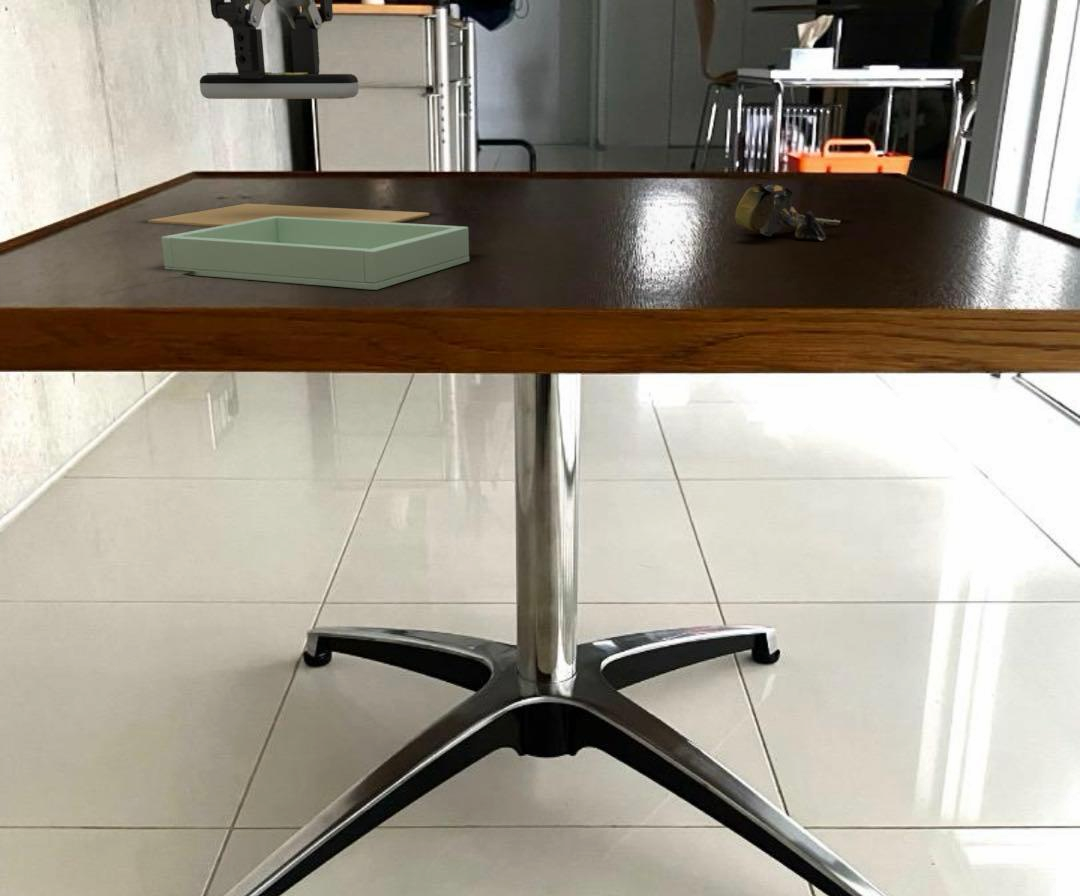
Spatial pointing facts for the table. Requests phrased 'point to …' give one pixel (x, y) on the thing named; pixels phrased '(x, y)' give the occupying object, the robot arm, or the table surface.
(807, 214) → the regulator
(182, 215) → the mat
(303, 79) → the remote control
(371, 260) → the tray
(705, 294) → the table surface
